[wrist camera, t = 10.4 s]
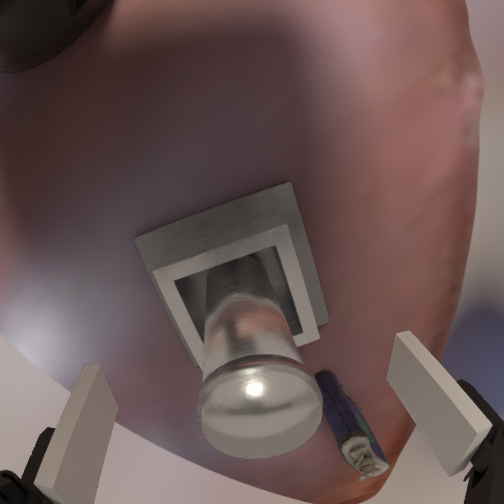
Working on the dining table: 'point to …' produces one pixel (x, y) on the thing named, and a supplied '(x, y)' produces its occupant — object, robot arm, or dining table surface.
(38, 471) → the robot arm
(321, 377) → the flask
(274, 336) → the silver canister
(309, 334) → the duct collar
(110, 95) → the dining table surface
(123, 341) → the dining table surface
